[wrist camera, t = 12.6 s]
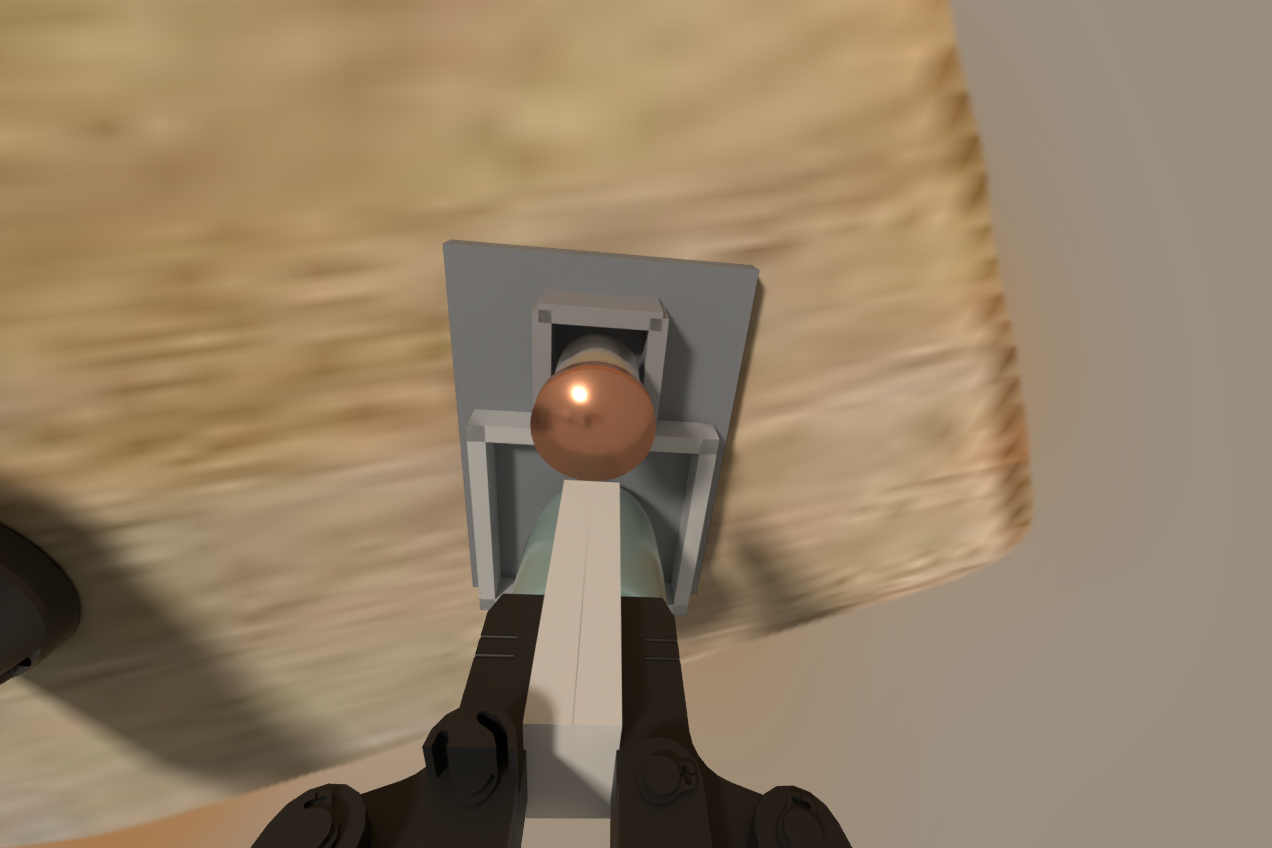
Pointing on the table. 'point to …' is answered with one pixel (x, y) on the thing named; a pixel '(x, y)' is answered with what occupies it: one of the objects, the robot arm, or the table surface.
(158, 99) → the table surface
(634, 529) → the cup
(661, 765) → the robot arm
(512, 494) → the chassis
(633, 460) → the plunger
